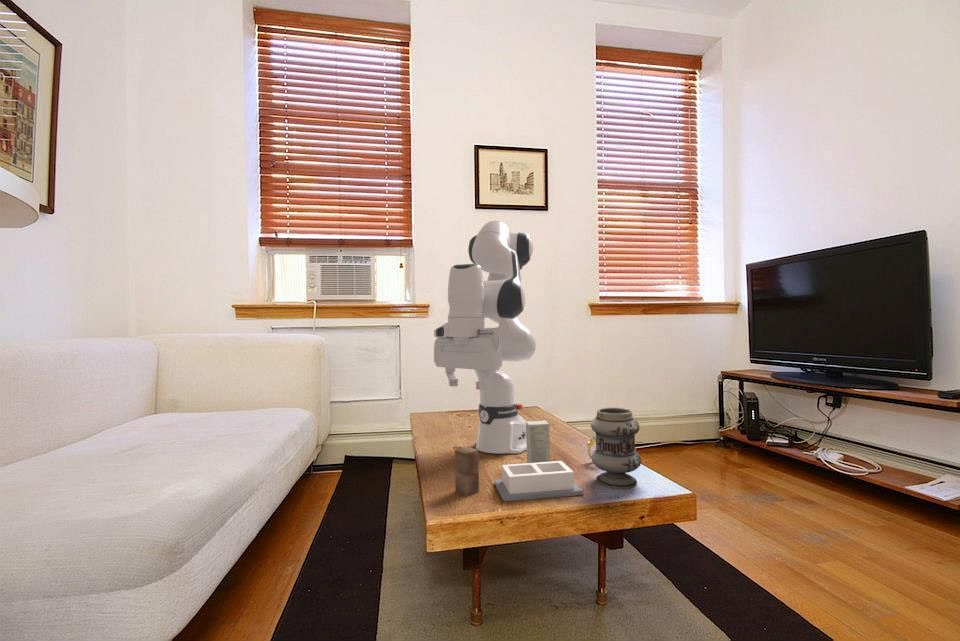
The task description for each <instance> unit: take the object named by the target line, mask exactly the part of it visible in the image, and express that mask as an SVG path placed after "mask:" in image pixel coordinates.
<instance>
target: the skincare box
mask: <svg viewBox="0 0 960 641" xmlns="http://www.w3.org/2000/svg"><path fill="white" fill-rule="evenodd" d="M550 439H551V438H550V423H549V422H548V421H547V420H526V443H527V450H526V463H538V462H551V446H550Z"/></svg>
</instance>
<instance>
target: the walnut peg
mask: <svg viewBox="0 0 960 641" xmlns="http://www.w3.org/2000/svg"><path fill="white" fill-rule="evenodd" d="M454 476H455V477H454V480H455V482H454V483H455V487H454V488H455V491H454V492H455V493H457V494H460V495H462V496H464V497H469V496H471V495H474V494H476V493H479V492H480V486H479V484H480V482H479V479H480V478H479V450H477V449H476V448H473V447H469V446H466V447H462V448H458V449H455V450H454Z"/></svg>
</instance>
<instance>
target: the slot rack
mask: <svg viewBox="0 0 960 641" xmlns="http://www.w3.org/2000/svg"><path fill="white" fill-rule="evenodd" d="M493 482H494V485H495V488H496V489H497V491H498V493H499V495H500V497H501V499H502V501H503V502H515V501H526V500H537V499H549V498H559V497H562V498H563V497H575V496H582V495H584V489H582V488H581V487H580V486H579V485H578V484H577V483H576V482H575V471H573V470H572V469H571V468H570V467H569V466H568V465H567V464H565V462H563V461H562V460H557V461H556V460H555V461H554V460H553V461H550V462H538V463H527V462H525V463H513V464H512V463H511V464H502V465H501V479H494V481H493Z"/></svg>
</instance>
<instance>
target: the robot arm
mask: <svg viewBox="0 0 960 641" xmlns="http://www.w3.org/2000/svg"><path fill="white" fill-rule="evenodd" d="M531 238H532V237H531V236H530V235H529V234H528V233H524V232H520V231H519V232H510V230H509V228H508V226H507V225H506V224H505V223H504V222H502V221H499V220H490V221H488V222H487V223H485V224H484V225H483V226H482V227H481V229H479V231H478V233H477V234H476V235H473V237H472V238H471V239H470V240H469V244H468V248H467V251H468V256H469V260H470V261H471V262H472V263H466V264H463V263H462V264H454V265H453V266H451V267H450V269H449V275H448V283H447V284H448V285H447V301H448V306H449V311H448V314H447V322H445V323H444V324H442V325H441V326H438V327H436V328H435V329H434V330H433V336H434V338H436V339H435V340H434V342H433V361H434V362H433V363H434V364H435V366H436V367H437V368H445V374H446V376H447V379H448V386H449V387H453V388H454V387H458V386H459V379H458V378H456V375H455V372H456V369H461V370H462V369H463V370H473V371H475V374H476V377H477V381H475V389H476V390H479V404H478V415H479V416H478V417H479V422H478V423H479V424H478V432H477V439H476V444H475V449H476V450H478V452H482V453H486V454H487V453H488V454H501V455H502V454H515V455H517V454H521V453H523V452H525V451H527V443H526V421H527V420H526V419H525V418H523V417H522V416H521V415H520V414H519V412H518V411H522V410H523V408H524V405H523V403H516V404H515V388H514V387H515V386H514V380H513V379H512V377H511V376H510V375H508V374H507V373H506V372H504V371H502V370H500V369H501V368H502V366H503V362H520V361H526V360H529V359H531V358H532V357H533V355H534V354H535V351H536V348H537V342H536V341H537V340H536V338H535V335H534V333H533V332H532V331H531V330H530V329H529V328H527V327H526V326H525V325H523V323H522V322H521V320H520V319H519V316H520V315H521V313H522V312H524V308H525V306H526V296H525V295H526V294H525V290H524V288H523V285H522V279H521V276H522V275H521V270H522V269H523V267H524V266H526V265H527V264H528V263H529V262H530V261H531V258H532V256H533V252H534V244H533V241H532V239H531ZM483 272H485V273H488V276H487V280H484V274H483ZM485 318H486V319H489V320H490V321H493V322H494V323H497V324H498V326H497V327H485Z"/></svg>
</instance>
